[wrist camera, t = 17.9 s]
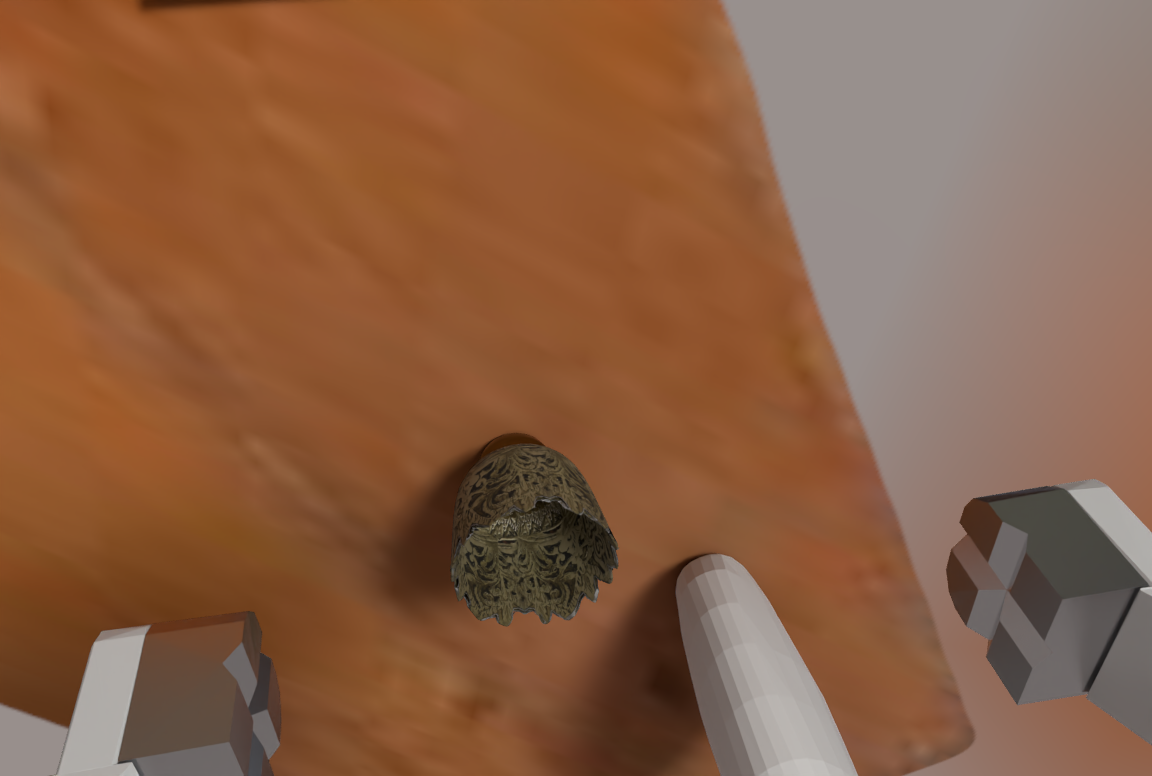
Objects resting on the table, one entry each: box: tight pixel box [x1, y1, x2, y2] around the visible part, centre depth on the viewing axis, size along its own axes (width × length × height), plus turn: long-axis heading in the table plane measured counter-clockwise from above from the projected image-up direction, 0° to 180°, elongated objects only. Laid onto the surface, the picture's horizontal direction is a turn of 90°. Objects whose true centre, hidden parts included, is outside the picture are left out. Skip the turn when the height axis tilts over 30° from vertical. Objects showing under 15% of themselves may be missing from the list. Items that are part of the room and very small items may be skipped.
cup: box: [450, 433, 619, 627], centre depth 45 cm, size 8×7×8 cm
